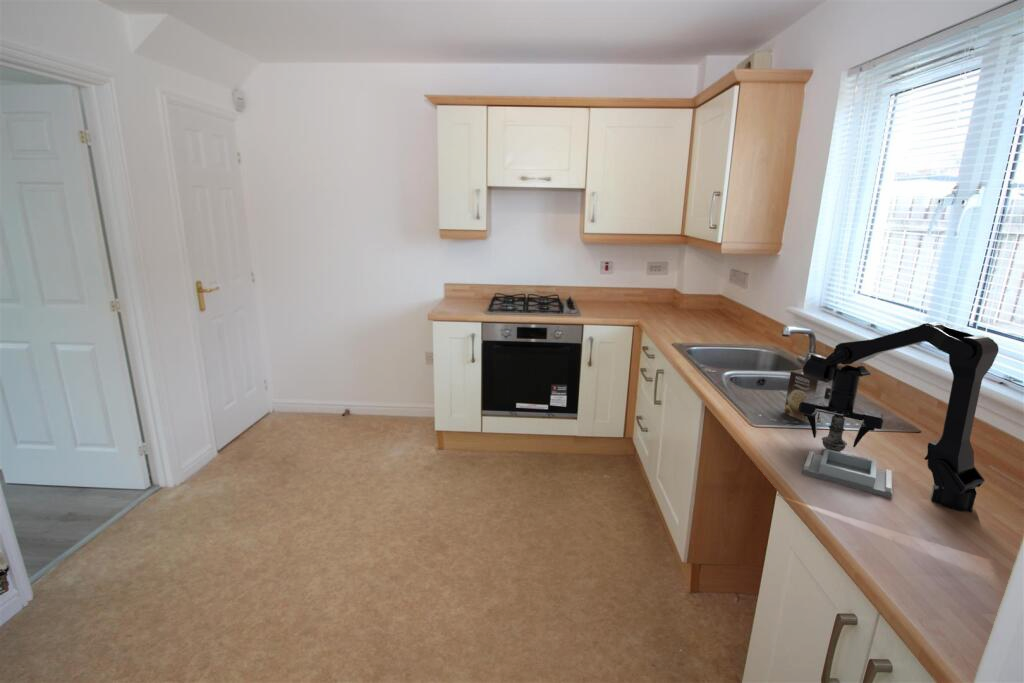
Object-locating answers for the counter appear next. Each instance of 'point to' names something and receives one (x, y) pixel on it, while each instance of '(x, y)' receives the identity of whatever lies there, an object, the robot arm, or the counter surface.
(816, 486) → the counter surface
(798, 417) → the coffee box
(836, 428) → the grey stone chess piece
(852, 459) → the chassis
